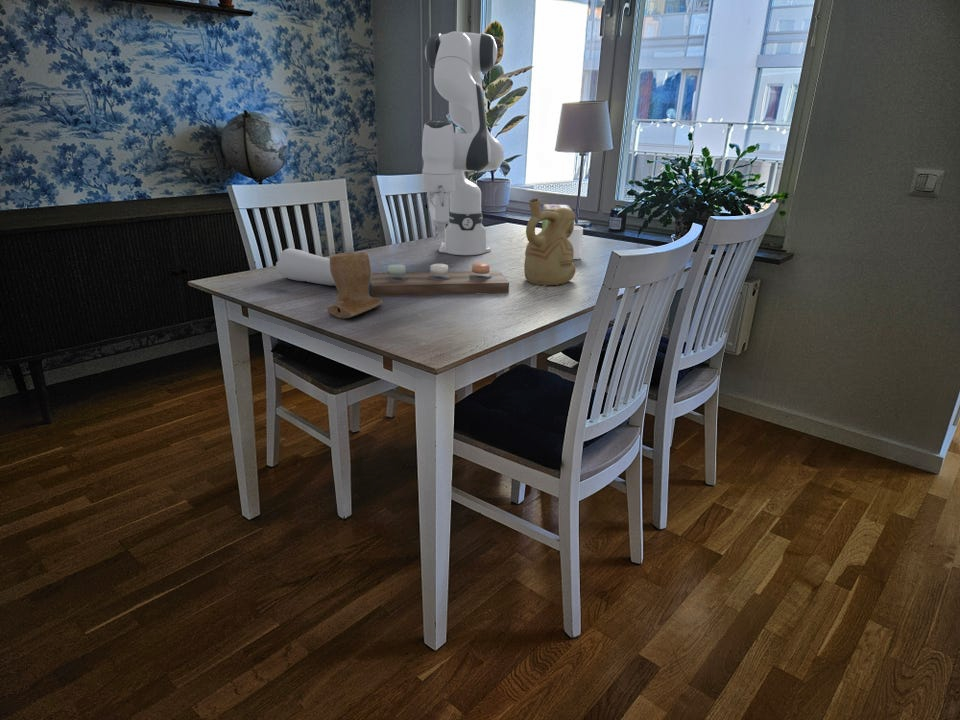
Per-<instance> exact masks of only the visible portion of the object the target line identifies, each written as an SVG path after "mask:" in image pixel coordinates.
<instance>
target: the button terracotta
mask: <svg viewBox="0 0 960 720" xmlns="http://www.w3.org/2000/svg"><path fill="white" fill-rule="evenodd" d="M471 267H472V268H471V271H472V272H473V273H476V274H487V273H489V271H491V269H490V267H491V266H490V264H488V263H485V262H476V263H472V264H471Z"/></svg>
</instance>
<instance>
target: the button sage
mask: <svg viewBox="0 0 960 720" xmlns="http://www.w3.org/2000/svg"><path fill="white" fill-rule="evenodd" d="M406 269H407V268H406V265H405V264H401V263H400V264H389V265H388V266H387V273H388V274H389V275H394V276H400V275H405V274H406V272H407V271H406Z"/></svg>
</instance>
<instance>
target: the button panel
mask: <svg viewBox="0 0 960 720" xmlns="http://www.w3.org/2000/svg"><path fill="white" fill-rule="evenodd" d="M371 292H372V293H371V294H372V296H371V297H395V296H396V297H398V296H399V297H400V296H440V295H441V294H442V295H443V296H444V294H446V295H475V294H476V293H487V294H509V293H510V282H509V281H508V279H507V278H506V276H505V275H504V274H503V272H502V271H501V270H489V273H487V274H476V273H473V272H472V270H465V271H463V270H460V271H459V270H457V271H454V270H453V271H448V273H447V274H444V275H435V274H431V271H414V272H411V271H410V272H409V271H408V272H407V271H406V274H405V275H400V276H394V275H389V274H388V272H372V273H371ZM476 295H477V294H476Z"/></svg>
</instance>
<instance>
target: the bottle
mask: <svg viewBox="0 0 960 720" xmlns="http://www.w3.org/2000/svg"><path fill="white" fill-rule="evenodd" d="M278 254H279V257H280V259H279V260H278V261H276V263H275V265H276V266H275V267H276V270H277V272H278V273H279V275H281V276H282V277H284V278H286V279H287V278H288V279H289V280H292V281H295V282H296V281H297V282H305V281H306V282H308V283H312V284H318V285H323V286H324V285H325V286H329V287H334V286H335V287H336V285H335V282H334V279H333V277H332V274H331V271H330V257H329V258H328V257H325V256H321V255H318V254H313V253H310V252H307V251H305V250H301V249H295V248H292V247H289V248H285V249H284V250H282V251H281V252H280V253H278ZM371 281H372V277H370V282H371ZM370 282H369V285H370V284H371V283H370Z"/></svg>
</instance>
